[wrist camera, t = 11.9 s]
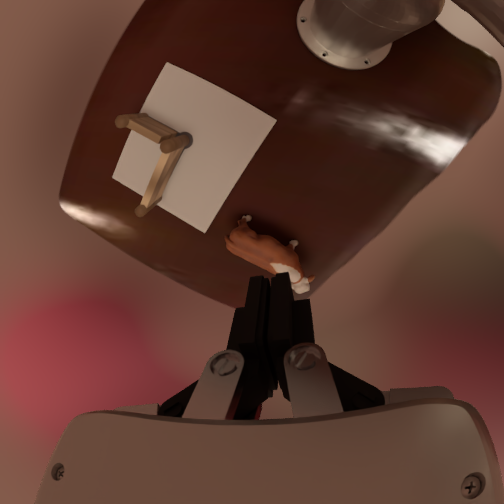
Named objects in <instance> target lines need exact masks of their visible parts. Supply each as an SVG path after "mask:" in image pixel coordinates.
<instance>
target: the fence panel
mask: <svg viewBox="0 0 504 504" xmlns="http://www.w3.org/2000/svg"><path fill="white" fill-rule="evenodd" d="M188 144H189V137H188V136H186V135H181V136H177V137H174V138H171V139H167V140H164V141H162V142H161V144H160V150H161V152H162V154H161V156H160V158H159V160H158V163H157V165H156V167H155V169H154V172H153V174H152V177H151V179H150V181H149V184H148V186H147V189H146V191H145V194H144V196H143V199H142V202H141V204H140V205H139V206H138V207H137V208H136V209H135V214H136V215H137V216H138V217H143V216H144V215H145V214H146V213H147V212H148V211H149V210H151V209H152V208H153V207H154V206H155V205H156V204H158V203H159V202H160V201H161V200H162V194H163V191H164V189H165V187H166V184H167V182H168V180H169V178H170V176H171V173H172V171H173V169H174V167H175V165H176V163H177V161H178V159H179V156H180V154H181V152H182V150H183V148H184V147H185V146H187V145H188Z"/></svg>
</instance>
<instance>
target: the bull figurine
mask: <svg viewBox="0 0 504 504" xmlns="http://www.w3.org/2000/svg"><path fill="white" fill-rule="evenodd" d="M251 219H252V217H251V216H250V215H247V216H243V217H242V219H241V220H238V224H239V227H236V228H235V229H233V230H232V232H231V234H230V235H225V236H224V238H225V241H226V242H227V243H226V247H227V249H228V250H229V251H230V252H231V253H233V254H235V255H237V256H240V257H241V258H243V259H245V260H247V261H249V262H251V263H253V264H255V265H257V266H259V267H261V268H263V269H265V270H267V271H269V272H271V273H272V274H274V275H276V273H283V272H289V276H290V281H291V282H292V284H291V286H292V289H294V290H295V292H296V293H299V294H301V293H303V292H306V291H309V289H310V285H309V282H312V281H313V279H314V278H315V275H311V276H309V277H308V278H305V275H304V271H303V269H302V267H301V264H300V263H299V257H298V255H297V254H296V252H294V248H295V247H294V246H297V245H298V241H297V240H291V241H290V242H289V243H290V244H289V245H288V246H286V247H285V246H284V245H282V244H281V243H280V242H279V241H278V240H276V239H275V238H273V237H271V236H269V235H258V234H256V232H255V231H253V230H252V229H250V228H249V227H248V225H247V221H251ZM228 237H229V238H228Z"/></svg>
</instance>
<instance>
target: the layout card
mask: <svg viewBox="0 0 504 504" xmlns="http://www.w3.org/2000/svg"><path fill="white" fill-rule="evenodd" d="M140 113H147V114H148V116H149V117H150V118H152V119H154V120H156V121H157V122H159V123H161V124H163V125H165V126H167V127H169V128H171V129H172V130H174V131H176V132H178V133H177V135H176V137H177V136H181V135H186V136H188V137H189V144H188V145H187V146H185V147H184V148H183V150H182V152H181V154H180V156H179V159H178V161H177V163H176V165H175V167H174V169H173V171H172V173H171V176H170V178H169V180H168V182H167V184H166V187H165V189H164V191H163V194H162V200H161V201H160V202H159V203H158V204H157V205H158V206H160V207H162V208H163V209H165V210H167V211H168V212H170V213H172V214H173V215H175V216H177V217H178V218H180V219H182V220H183V221H185V222H187V223H189V224H190V225H192V226H194V227H195V228H197V229H199V230H200V231H202V232H204V233H205V232H206V231H207V229H208V227H209V226H210V224H211V222H212V221H213V219H214V217H215V216H216V214H217V212H218V211H219V209H220V207H221V206H222V204H223V203H224V201H225V199H226V198H227V196H228V195H229V193H230V191H231V190H232V188H233V187H234V185H235V183H236V182H237V180H238V179H239V177H240V176H241V174H242V172H243V171H244V169H245V168H246V166H247V165H248V163H249V162H250V160H251V159H252V157H253V156H254V154H255V152H256V151H257V149H258V148H259V146H260V145H261V143H262V142H263V140H264V139H265V137H266V136H267V134H268V133H269V132H270V130H271V129H272V127H273V126H274V124H275V123H276V121H277V120H275V119H274V118H272V117H271V116H269V115H267V114H266V113H264V112H262V111H261V110H259V109H257V108H256V107H254V106H252V105H250V104H249V103H247V102H245V101H244V100H242V99H240V98H238V97H236V96H235V95H233V94H231V93H229V92H227V91H225V90H224V89H222V88H220V87H218V86H216V85H214V84H212V83H210V82H208V81H206V80H204V79H202V78H200V77H198V76H196V75H194V74H192V73H190V72H188V71H185V70H183V69H181V68H179V67H177V66H174V65H172V64H170V63H168V62H167V63H166V65H165V66H164V68H163V70H162V72H161V73H160V75H159V77H158V79H157V80H156V82H155V84H154V86H153V88H152V90H151V91H150V93H149V95H148V97H147V99H146V101H145V103H144V105H143V107H142V109H141V111H140ZM160 144H161V143H160ZM160 144H157V143H155V142H153V141H152V140H150V139H148V138H146V137H144V136H142V135H141V134H139V133H137V132H135V131H133V130H131V133H130V135H129V137H128V139H127V142H126V144H125V147H124V149H123V151H122V154H121V156H120V159H119V161H118V164H117V166H116V169H115V172H114V174H113V177H112V178H114V179H115V180H117V181H119V182H120V183H122V184H124V185H125V186H127V187H129V188H130V189H132V190H134V191H135V192H137V193H139V194H140V195H142V196H144V194H145V191H146V189H147V186H148V184H149V181H150V179H151V177H152V174H153V172H154V169H155V167H156V165H157V163H158V160H159V158H160V156H161V154H162V152H161V150H160Z"/></svg>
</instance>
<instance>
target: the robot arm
mask: <svg viewBox="0 0 504 504" xmlns="http://www.w3.org/2000/svg"><path fill="white" fill-rule="evenodd" d="M451 1H453V2H454V3H455V4H457V5H458V6H459V7H460V8H461V9H463V10H464V11H466V12H467V13H469V14H470V15H471V16H472V17H473V18H474V19H476V20H477V21H478V22H479V23H480V24H481V25H482V26H483V27H484V28H485V29H486V30H487V31H488V32H489V33H490V34H491V35H492V36H493V37H494V38H495V39H496V40H497V41H498V42H499V43H500V44H501V45H502V46H503V47H504V0H451ZM444 3H445V0H304V1H303V3H302V4H301V6H300V8H299V11H298V14H297V29H298V33H299V36H300V38H301V40H302V42H303V43H304V45H305V46H306V47H307V49H308V50H309V51H310V52H311V53H312V54H314V55H315V56H316V57H317V58H319V59H320V60H322V61H323V62H325V63H327V64H329V65H331V66H334V67H337V68H340V69H346V70H362V69H367V68H370V67H372V66H374V65H376V64H378V63H380V62H381V61H382V60H383V59H384V58H385V57H386V56H387V54H388V53H389V51H390V49H391V46H392V42H393V41H395V40H397V39H399V38H401V37H403V36H405V35H407V34H409V33H411V32H413V31H415V30H417V29H419V28H421V27H423V26H425V25H427V24H429V23H431V22H432V21H433V20H435V19H436V18H437V17H438V15H439V14H440V13H441V11H442V8H443V6H444ZM302 20H304V21H305V22H304V23H303V22H301V21H302ZM322 54H325V55H326V57H323V56H322ZM364 61H366V62H367V64H365V63H364ZM278 381H279V385H280V388H281V389H282V392H283V396H284V398H286V399H287V400H288V401H290V402H291V406H292V413H293V418H285V419H267V420H259V418H260V415H261V411H262V402H264V401H265V400H266V399H268V397H273V390H277V388H278ZM34 504H504V489H503V483H502V477H501V471H500V467H499V463H498V458H497V455H496V451H495V448H494V444H493V442H492V438H491V436H490V434H489V431H488V428H487V426H486V424H485V422H484V420H483V418H482V416H481V415H480V413H479V412H478V411H477V409H476V408H475V407H473V406H472V405H471V404H469V403H467V402H464V401H462V400H457V399H454V397H453V394H452V392H451V391H450V390H449V389H447V388H445V387H442V386H433V387H419V388H399V389H398V388H397V389H390V391H380V390H379V389H377V388H376V387H374V386H372V385H370V384H368V383H366V382H365V381H363V380H361V379H359V378H357V377H355V376H353V375H352V374H350V373H348V372H346V371H344V370H342V369H341V368H338V367H337V366H335V365H333V364H331V363H330V362H328V361H327V358H326V355H325V352H324V350H323V349H322V348H321V347H320V346H319V345H317V344H315V340H314V330H313V321H312V313H311V306H310V299H304V300H297V301H294V297H293V292H292V286H291V281H290V276H289V272H283V273H276V277H272V278H271V287H270V282H269V279H268V278H264V276H263V275H262V276H255V277H250V281H249V286H248V292H247V297H246V303H245V307H241V308H236V310H235V313H234V318H233V323H232V327H231V332H230V336H229V340H228V345H227V349H226V350H224V351H221V352H218V353H216V354H214V355H213V356H212V357H211V358H210V359H209V361H208V362H207V364H206V366H205V368H204V371H203V373H202V375H201V377H200V379H199V380H197V381H196V382H194V383H193V384H191V385H190V386H188V387H187V388H185V389H184V390H182V391H181V392H179V393H178V394H176V395H174V396H173V397H171V398H170V399H168V400H167V401H165V402H164V403H163V404H162V405H159V404H158V403H156V404H147V405H136V406H124V407H118V408H116V409H114V410H100V411H93V412H87V413H83V414H81V415H78V416H76V417H75V418H74V419H73V420H72V421H71V422H70V423H69V424H68V426H67V427H66V429H65V430H64V432H63V434H62V435H61V437H60V439H59V441H58V443H57V445H56V447H55V449H54V452H53V454H52V456H51V458H50V461H49V463H48V466H47V468H46V471H45V474H44V476H43V479H42V482H41V484H40V487H39V490H38V493H37V496H36V500H35V503H34Z"/></svg>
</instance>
